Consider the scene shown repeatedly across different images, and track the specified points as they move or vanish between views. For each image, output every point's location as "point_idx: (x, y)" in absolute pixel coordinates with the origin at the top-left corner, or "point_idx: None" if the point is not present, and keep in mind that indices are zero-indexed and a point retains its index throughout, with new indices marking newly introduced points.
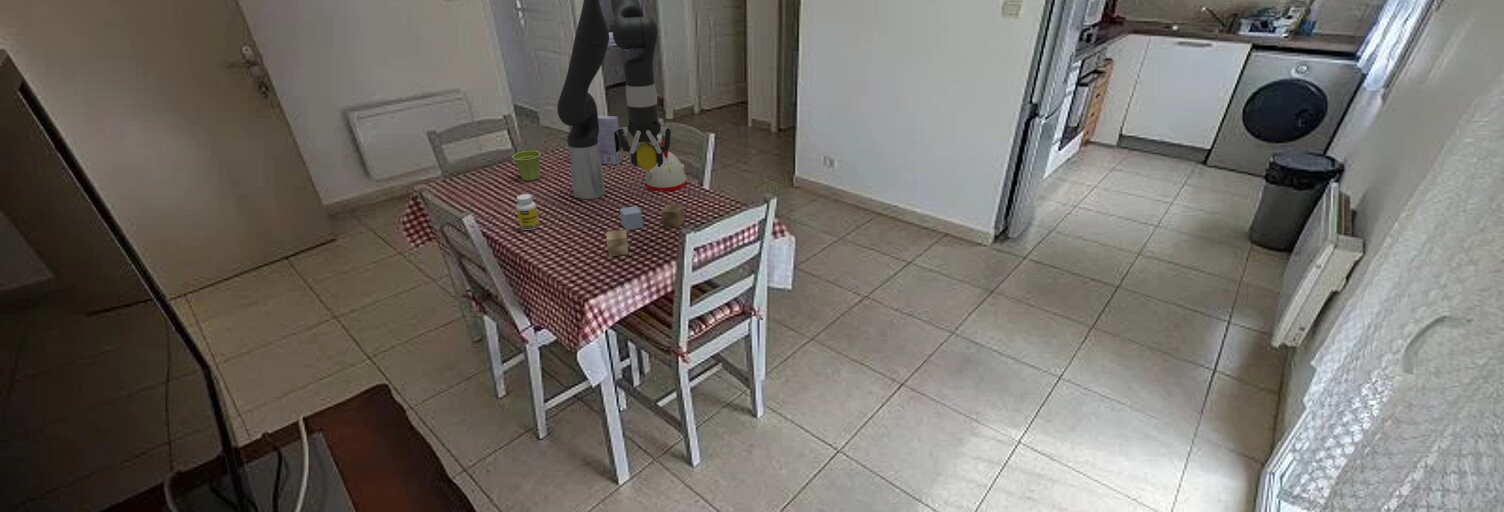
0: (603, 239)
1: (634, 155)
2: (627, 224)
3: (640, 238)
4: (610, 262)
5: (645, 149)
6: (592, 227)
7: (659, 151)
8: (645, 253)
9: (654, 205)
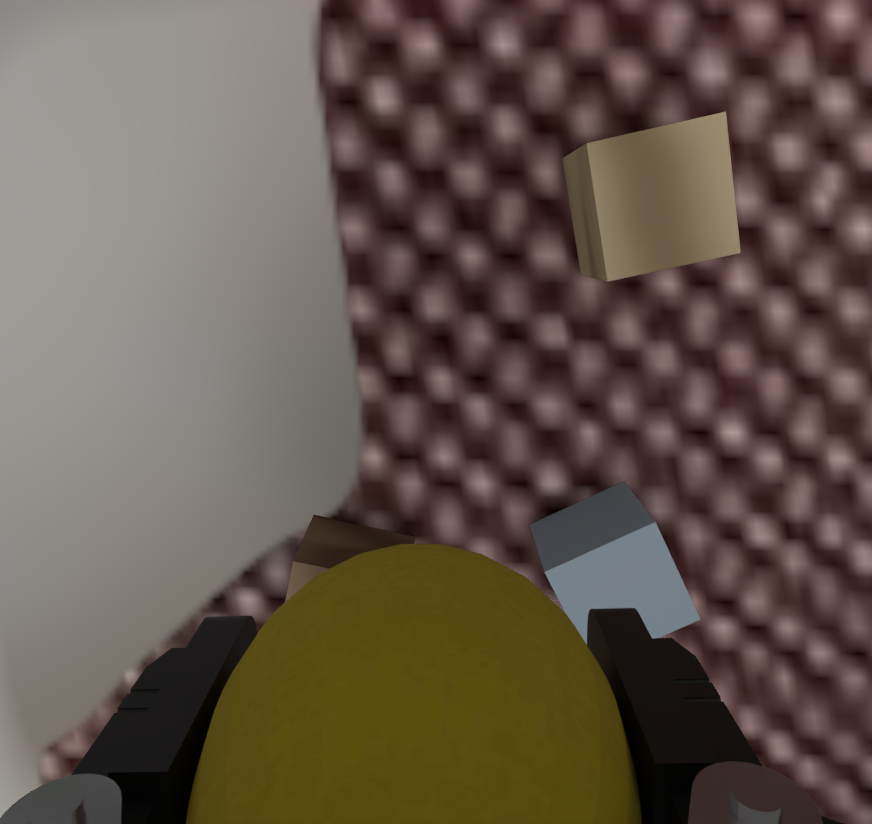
0: (746, 366)
1: (673, 740)
2: (623, 499)
3: (520, 378)
4: (655, 45)
5: (383, 809)
6: (836, 525)
7: (51, 805)
8: (455, 172)
9: None
